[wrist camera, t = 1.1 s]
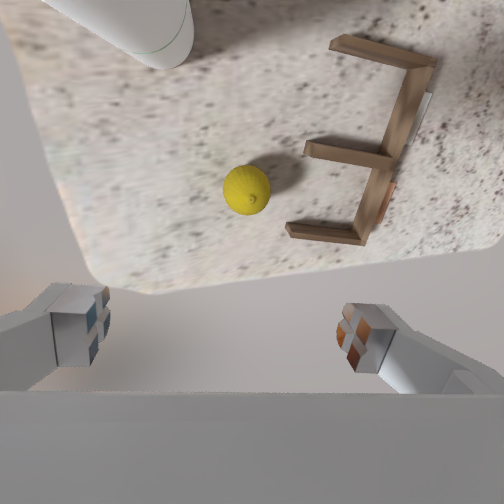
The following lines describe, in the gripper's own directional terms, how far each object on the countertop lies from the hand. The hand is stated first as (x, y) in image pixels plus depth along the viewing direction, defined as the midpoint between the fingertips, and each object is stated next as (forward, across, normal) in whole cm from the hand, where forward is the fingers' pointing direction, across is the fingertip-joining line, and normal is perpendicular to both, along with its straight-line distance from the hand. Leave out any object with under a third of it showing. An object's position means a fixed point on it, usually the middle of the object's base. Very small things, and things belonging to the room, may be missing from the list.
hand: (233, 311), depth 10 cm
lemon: (+29, -3, 0) cm, 29 cm away
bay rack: (+29, -17, -5) cm, 34 cm away
